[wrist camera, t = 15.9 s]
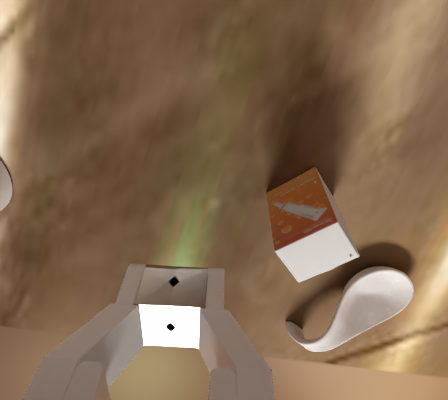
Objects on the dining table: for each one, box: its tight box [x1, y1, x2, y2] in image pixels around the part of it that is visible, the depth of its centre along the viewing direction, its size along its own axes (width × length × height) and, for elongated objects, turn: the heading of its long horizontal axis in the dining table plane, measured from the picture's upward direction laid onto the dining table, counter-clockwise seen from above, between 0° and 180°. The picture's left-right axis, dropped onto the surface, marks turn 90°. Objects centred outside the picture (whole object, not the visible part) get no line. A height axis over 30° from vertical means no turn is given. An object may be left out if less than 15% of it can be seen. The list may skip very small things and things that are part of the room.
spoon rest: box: [285, 266, 414, 352], centre depth 60 cm, size 24×12×7 cm, turn 137°
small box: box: [266, 167, 360, 282], centre depth 45 cm, size 8×6×13 cm
